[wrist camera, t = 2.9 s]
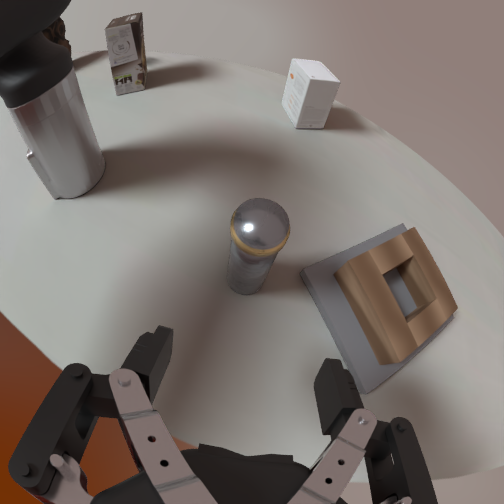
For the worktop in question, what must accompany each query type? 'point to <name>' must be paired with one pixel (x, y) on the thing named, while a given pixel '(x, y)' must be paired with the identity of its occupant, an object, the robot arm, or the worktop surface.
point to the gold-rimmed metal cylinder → (255, 243)
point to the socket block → (383, 302)
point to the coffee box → (127, 53)
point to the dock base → (344, 319)
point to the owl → (57, 33)
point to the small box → (309, 93)
